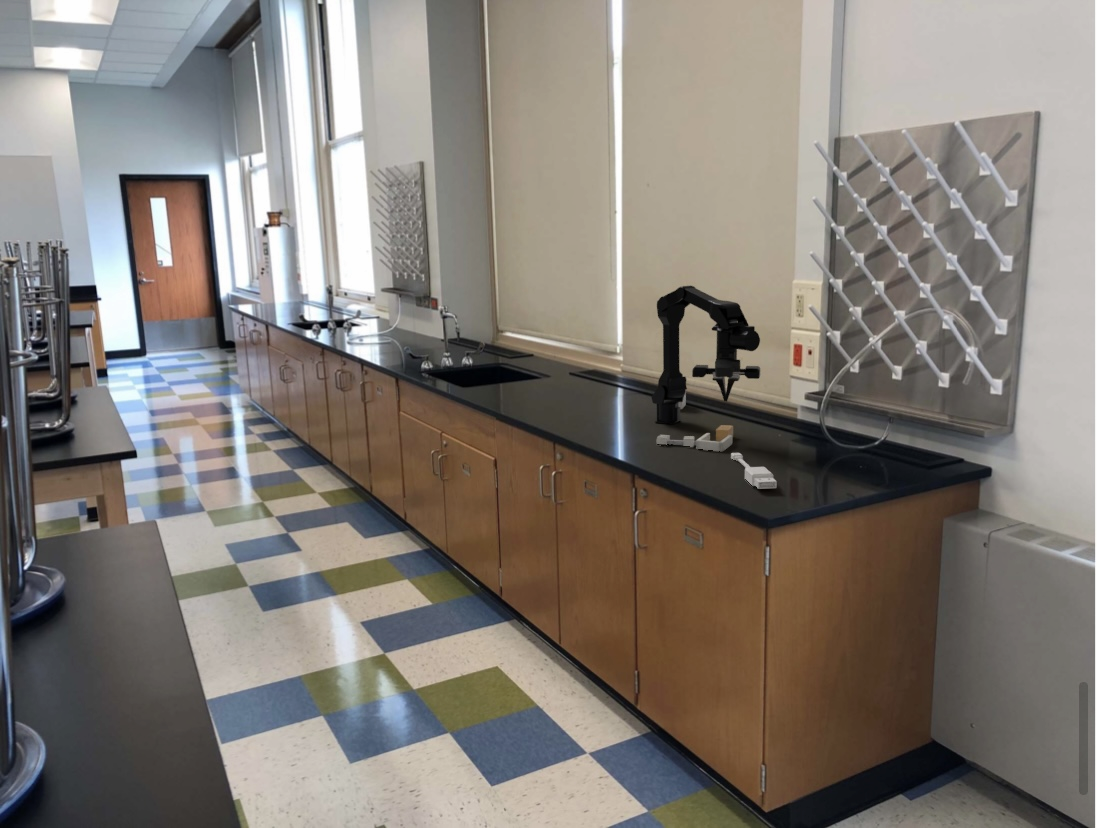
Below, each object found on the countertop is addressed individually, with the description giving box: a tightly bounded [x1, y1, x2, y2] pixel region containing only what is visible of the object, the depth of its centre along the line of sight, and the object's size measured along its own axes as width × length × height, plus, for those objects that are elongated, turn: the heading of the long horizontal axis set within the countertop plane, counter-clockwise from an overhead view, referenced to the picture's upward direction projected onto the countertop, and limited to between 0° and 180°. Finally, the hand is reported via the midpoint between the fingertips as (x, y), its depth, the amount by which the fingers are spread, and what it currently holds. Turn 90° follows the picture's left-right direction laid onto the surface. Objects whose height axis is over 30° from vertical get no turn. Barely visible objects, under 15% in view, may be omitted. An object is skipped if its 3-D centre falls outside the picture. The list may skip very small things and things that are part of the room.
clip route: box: [655, 434, 696, 448], centre depth 242 cm, size 12×4×2 cm, turn 62°
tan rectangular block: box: [715, 424, 734, 442], centre depth 248 cm, size 4×6×4 cm, turn 154°
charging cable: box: [730, 452, 778, 490], centre depth 213 cm, size 5×32×3 cm, turn 1°
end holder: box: [695, 432, 733, 453], centre depth 239 cm, size 8×10×2 cm
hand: (725, 401), depth 247 cm, fingers closed
